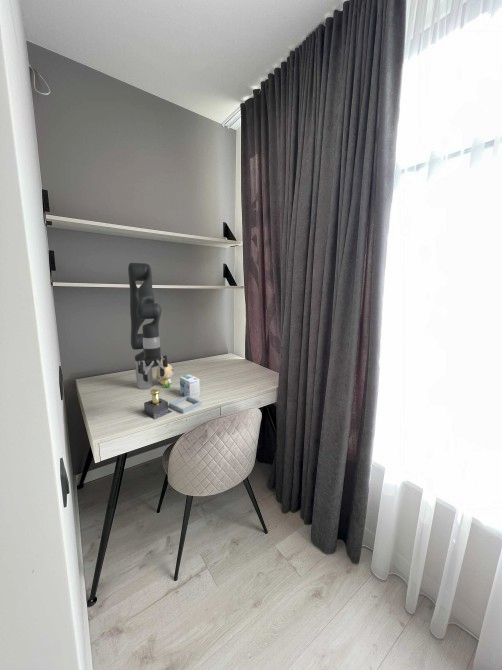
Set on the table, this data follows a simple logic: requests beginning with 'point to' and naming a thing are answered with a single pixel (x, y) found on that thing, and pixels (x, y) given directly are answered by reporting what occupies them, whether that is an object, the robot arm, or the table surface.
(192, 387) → the light bulb box
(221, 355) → the table surface
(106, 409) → the table surface
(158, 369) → the kitten
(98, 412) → the table surface
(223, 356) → the table surface
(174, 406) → the tray
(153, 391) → the pin
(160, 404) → the block
